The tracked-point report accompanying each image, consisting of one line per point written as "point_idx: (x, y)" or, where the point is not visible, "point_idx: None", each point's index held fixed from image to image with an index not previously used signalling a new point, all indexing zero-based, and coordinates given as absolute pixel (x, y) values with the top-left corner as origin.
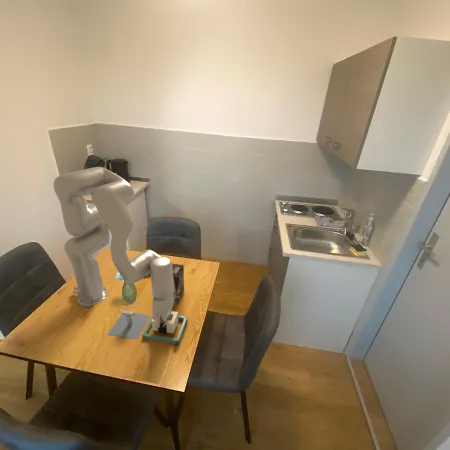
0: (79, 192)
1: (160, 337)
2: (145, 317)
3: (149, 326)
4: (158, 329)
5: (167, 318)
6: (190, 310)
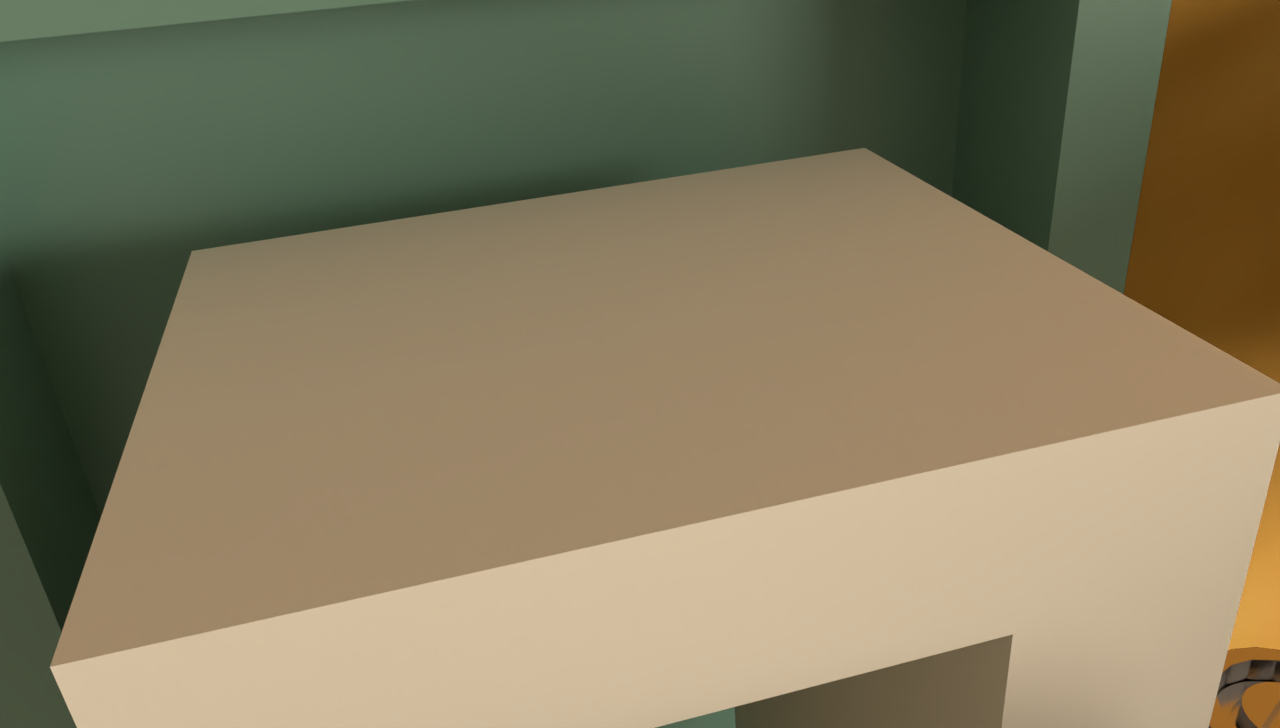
0: None
1: (15, 718)
2: None
3: (321, 4)
4: None
5: (815, 720)
6: (1243, 644)
